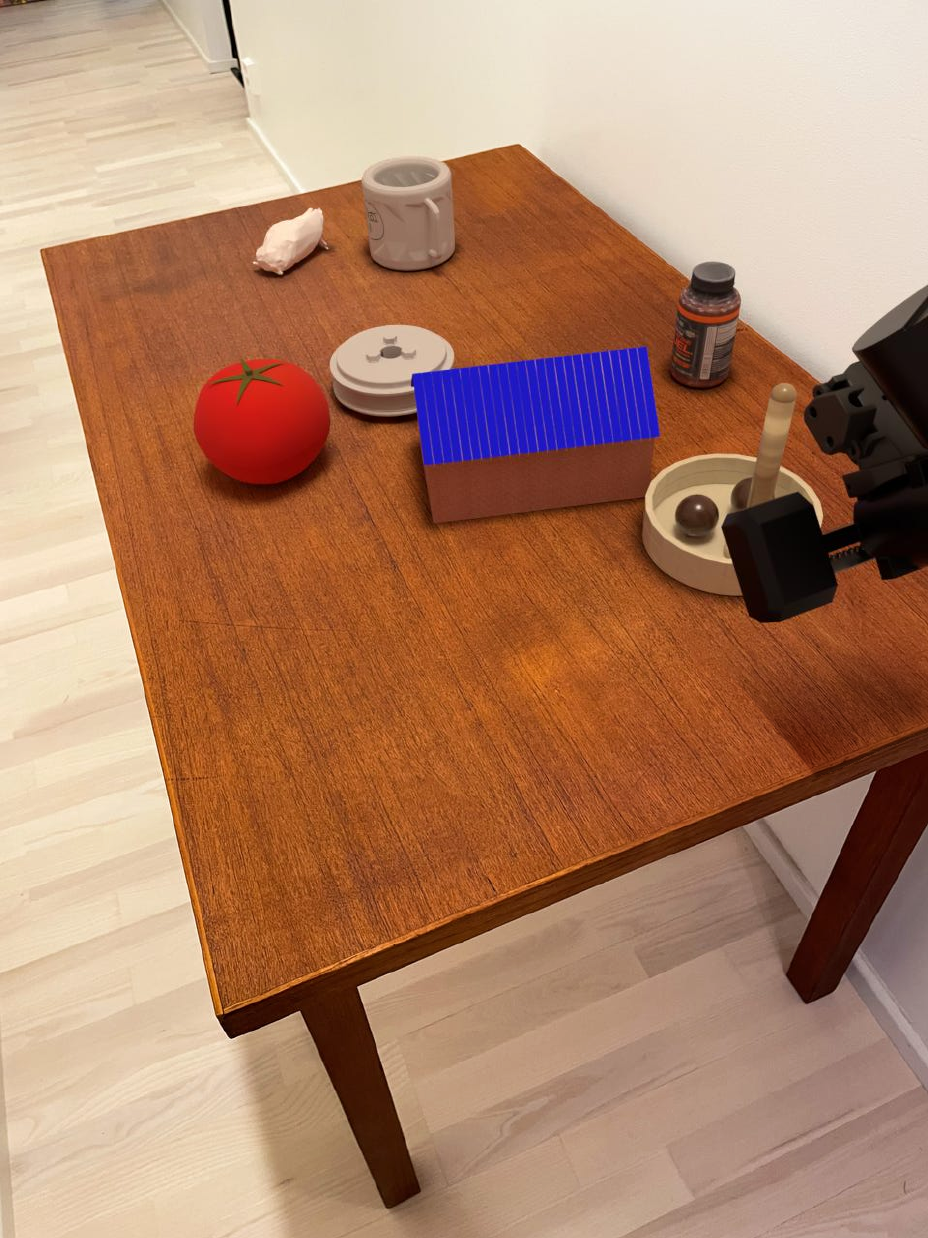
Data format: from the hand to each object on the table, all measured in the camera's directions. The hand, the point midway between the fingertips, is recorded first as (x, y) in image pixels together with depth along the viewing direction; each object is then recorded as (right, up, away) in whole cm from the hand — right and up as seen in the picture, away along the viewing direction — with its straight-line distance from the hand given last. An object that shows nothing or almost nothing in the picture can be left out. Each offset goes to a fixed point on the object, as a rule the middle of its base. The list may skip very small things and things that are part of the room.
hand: (799, 536), depth 61 cm
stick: (+2, 0, +18) cm, 18 cm away
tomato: (-40, +9, +31) cm, 51 cm away
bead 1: (-2, +3, +19) cm, 19 cm away
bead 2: (+3, +5, +20) cm, 21 cm away
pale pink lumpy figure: (-43, +40, +60) cm, 84 cm away
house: (-15, +8, +28) cm, 33 cm away
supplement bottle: (+3, +20, +38) cm, 43 cm away
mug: (-27, +40, +60) cm, 77 cm away
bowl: (+1, +2, +20) cm, 21 cm away
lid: (-29, +19, +39) cm, 52 cm away
